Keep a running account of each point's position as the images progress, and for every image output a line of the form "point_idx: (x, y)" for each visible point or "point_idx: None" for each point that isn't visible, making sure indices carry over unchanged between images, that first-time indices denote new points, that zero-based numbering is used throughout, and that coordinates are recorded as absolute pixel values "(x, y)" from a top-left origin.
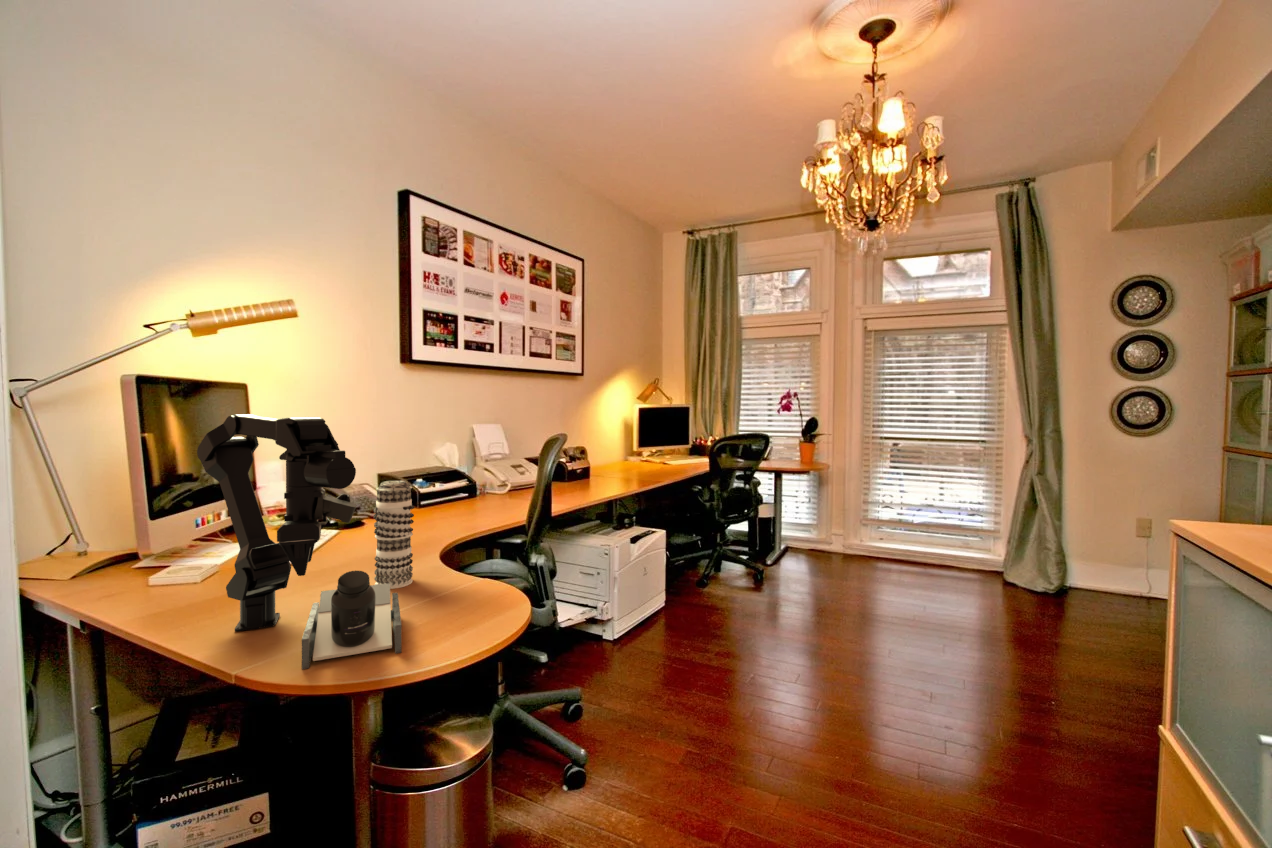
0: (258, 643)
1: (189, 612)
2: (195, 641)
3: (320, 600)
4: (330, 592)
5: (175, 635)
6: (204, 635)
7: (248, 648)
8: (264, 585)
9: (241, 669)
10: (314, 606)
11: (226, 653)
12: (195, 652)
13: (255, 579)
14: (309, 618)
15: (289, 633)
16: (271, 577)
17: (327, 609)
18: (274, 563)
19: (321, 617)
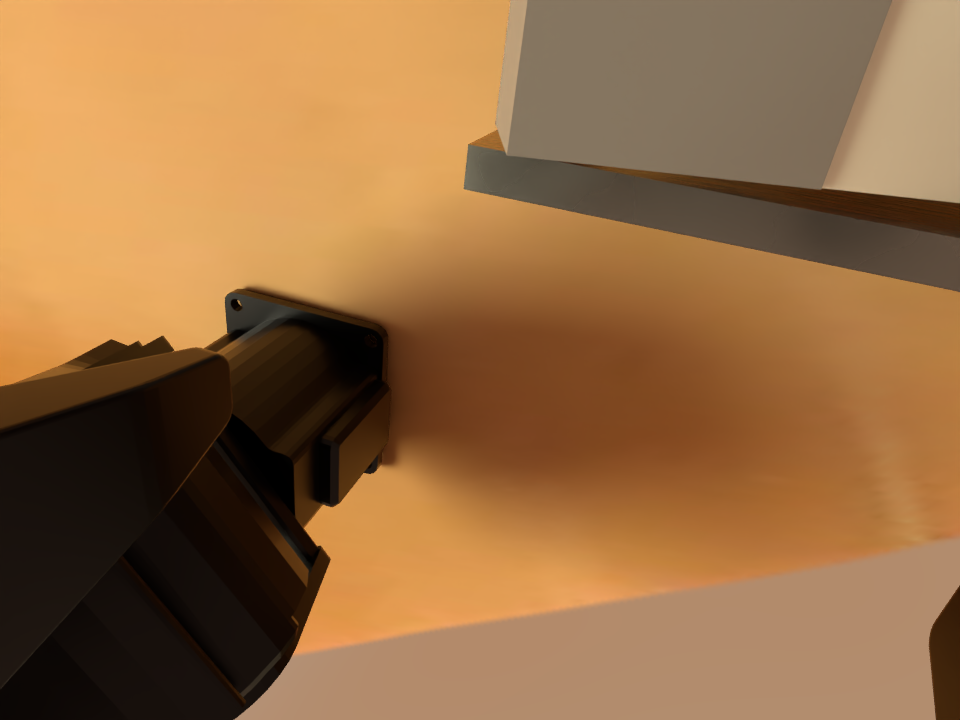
0: (582, 413)
1: None
2: (412, 574)
3: (656, 168)
4: (559, 64)
5: (319, 602)
6: (362, 544)
7: (622, 454)
8: (267, 517)
9: (900, 517)
10: (560, 189)
11: (625, 525)
12: (535, 594)
13: (295, 629)
14: (860, 261)
15: (524, 276)
16: (231, 521)
17: (825, 109)
18: (135, 588)
19: (893, 165)
